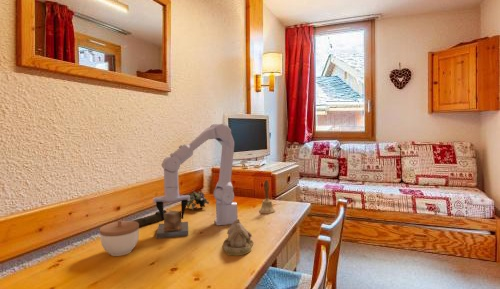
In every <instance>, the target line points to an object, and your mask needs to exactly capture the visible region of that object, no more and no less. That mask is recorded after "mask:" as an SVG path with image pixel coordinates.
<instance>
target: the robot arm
mask: <svg viewBox="0 0 500 289" xmlns="http://www.w3.org/2000/svg"><path fill="white" fill-rule="evenodd" d="M208 140H216V141H217V142H218V143H219V144H220V145H221V156H220V164H219V165H220V166H219V175H218V181H217V183H216V185H215V188H214V189H213V194H212V195H213V197H214V199H215V214H216V215H215V218H214V222H215V226H226V225H227V226H228V225H232V224H233V223H234V221H235V220H236V219H238V204H237V202H236V201H234V199H235V193H234V186H233V184H232V173H233V163H234V152H235V140H234V137H233V135H232V129H231V128H230V127H229V125H227V123H226V124H225V123H214V124H211V125H210V126H209V127H207V128H205V129H204V130H203V131H202V132H201V133H200V134H199V135H198V136H196V137H195V138H194V139H193V140H192V141H191V142H189V144H182V145H181V144H180V145H179V146H178V149H177V150H175V151H174V152H173V153H172V152H171V153H169V156H166V157H165V158H164V159H163V160H162V163H161V167H162V169H163V185H164V186H163V187H164V195H163V196H158V197H153V199H152V200H153V201H152V202H153V204H155V205H156V208H157V210H158V211H159V212H160V214H161V218H162V221H161V222H164V211H163V210H164V203H171V202H173V203H174V202H180V204H181V205H180V206H181V220H184V215H185V210H186V208H187V203H188V201H190V195H187V194H186V195H183V194H181V195H180V187H179V185H180V184H179V170H180V167H181V165H182V164H184V163H186V161H187V160H188V159H190V158H191V157H192V156H194V152H195V150H197V149H198V148H199V147H200V146H202V145H203V144H204V143H205V142H207V141H208Z"/></svg>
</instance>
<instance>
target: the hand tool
mask: <svg viewBox="0 0 500 289" xmlns="http://www.w3.org/2000/svg"><path fill="white" fill-rule="evenodd" d="M163 211H164V213H166V212H167V210H165V209H163ZM132 221H135V222H138V223H139V228H140V227H142V226H146V225H149V224H152V223H155V222H157V223H160V222H163V221H162V218H161V214H160V212H159V210H158V211H156V212H155V213H154V214H151V215H147V216H144V217H140V218H137V219H133V220H132Z"/></svg>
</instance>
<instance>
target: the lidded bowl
mask: <svg viewBox="0 0 500 289" xmlns="http://www.w3.org/2000/svg"><path fill="white" fill-rule="evenodd" d="M139 228H140V227H139V223H138V222H135V221H133V220H120V219H119V220H117V221H114V222H110V223H107V224H105V225H103V226H101V227H100V228H99V235H100V236H99V237H100V238H99V239H100V243H101V246H102V248H103V250H104V251H105V252H107V253H108V254H109V255H110V256H112V257H121V256H125V255H127V254H130V253H131V252H132V251H133V249H134V248H136V246H137V244H138V241H139V236H140V234H139V232H140V229H139Z"/></svg>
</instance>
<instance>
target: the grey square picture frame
mask: <svg viewBox="0 0 500 289" xmlns="http://www.w3.org/2000/svg"><path fill="white" fill-rule="evenodd" d="M155 234H156V240H158V239H166V238H168V239H169V238H176V237H178V238H179V237H188V236H189V221H181V226H180V227H178V228H176V229H166V228H164V223H159V224H158V228H157V230H156V233H155Z"/></svg>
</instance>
